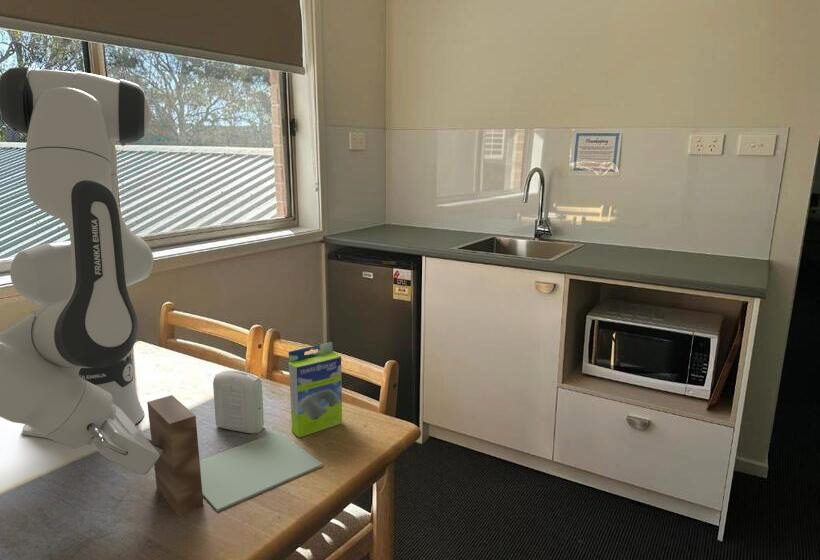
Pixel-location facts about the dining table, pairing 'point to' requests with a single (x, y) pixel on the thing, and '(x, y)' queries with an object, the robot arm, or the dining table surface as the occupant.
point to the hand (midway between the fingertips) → (157, 452)
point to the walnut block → (176, 454)
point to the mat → (252, 469)
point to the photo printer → (238, 401)
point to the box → (315, 389)
